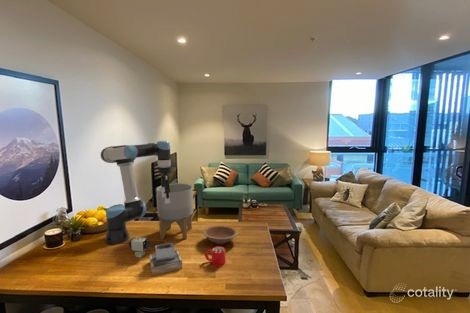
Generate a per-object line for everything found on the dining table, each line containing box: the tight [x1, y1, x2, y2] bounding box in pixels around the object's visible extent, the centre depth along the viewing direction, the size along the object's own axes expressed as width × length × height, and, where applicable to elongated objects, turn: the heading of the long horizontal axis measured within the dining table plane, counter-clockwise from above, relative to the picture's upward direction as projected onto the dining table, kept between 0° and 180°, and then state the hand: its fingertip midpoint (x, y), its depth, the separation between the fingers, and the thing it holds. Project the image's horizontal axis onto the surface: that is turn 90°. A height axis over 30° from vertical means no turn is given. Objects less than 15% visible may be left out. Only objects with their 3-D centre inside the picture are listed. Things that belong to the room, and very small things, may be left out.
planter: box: [156, 182, 194, 240], centre depth 187 cm, size 25×25×34 cm
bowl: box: [202, 224, 239, 245], centre depth 176 cm, size 24×24×8 cm
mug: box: [204, 246, 226, 267], centre depth 151 cm, size 8×12×8 cm, turn 86°
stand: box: [149, 248, 183, 276], centre depth 148 cm, size 14×16×5 cm
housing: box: [154, 242, 176, 262], centre depth 148 cm, size 10×6×7 cm, turn 113°
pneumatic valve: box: [128, 236, 151, 258], centre depth 158 cm, size 6×12×12 cm, turn 78°
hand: (165, 200), depth 162 cm, fingers open, 13 cm apart
